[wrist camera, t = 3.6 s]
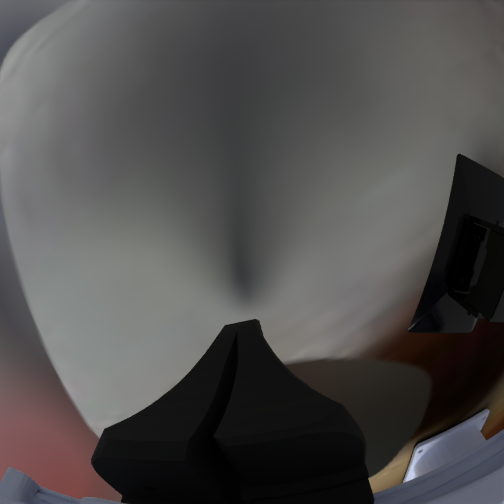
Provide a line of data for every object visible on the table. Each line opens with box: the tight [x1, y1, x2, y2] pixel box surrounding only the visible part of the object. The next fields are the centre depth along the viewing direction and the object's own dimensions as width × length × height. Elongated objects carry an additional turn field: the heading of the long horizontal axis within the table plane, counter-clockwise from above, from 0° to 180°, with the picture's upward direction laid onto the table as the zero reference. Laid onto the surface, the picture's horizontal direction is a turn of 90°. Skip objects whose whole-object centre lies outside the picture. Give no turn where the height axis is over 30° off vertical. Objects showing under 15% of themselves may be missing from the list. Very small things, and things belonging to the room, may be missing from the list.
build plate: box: [408, 154, 504, 333], centre depth 11 cm, size 12×7×5 cm, turn 171°
